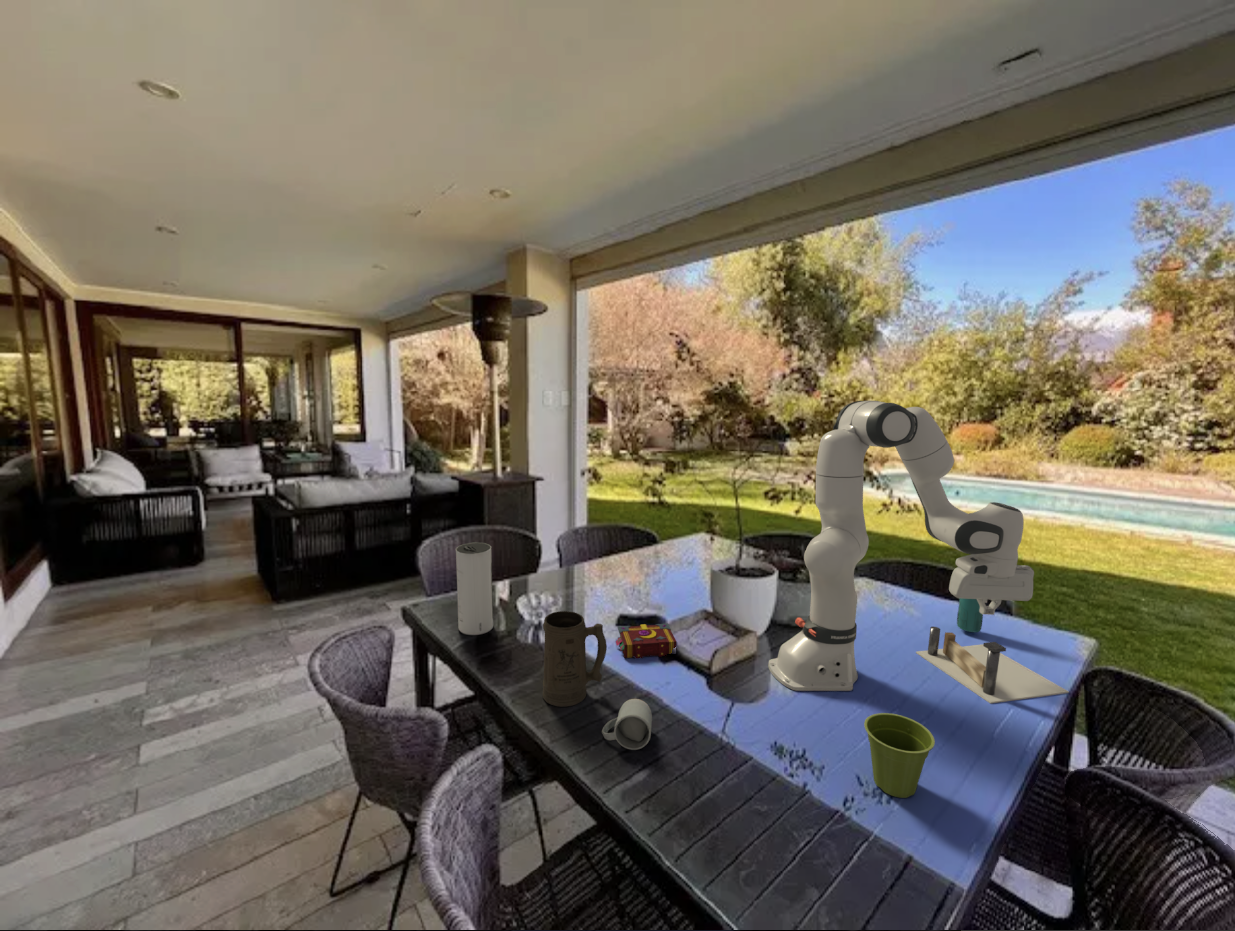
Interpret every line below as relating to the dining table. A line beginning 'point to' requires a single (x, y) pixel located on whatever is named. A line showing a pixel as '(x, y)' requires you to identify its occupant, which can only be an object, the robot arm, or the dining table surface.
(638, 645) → the decorative book
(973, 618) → the beverage bottle
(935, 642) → the post
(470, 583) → the speaker
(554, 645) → the beer stein
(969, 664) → the gate
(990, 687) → the gate post
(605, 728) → the ceramic mug
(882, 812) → the dining table surface
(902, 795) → the plant pot
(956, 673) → the mat
